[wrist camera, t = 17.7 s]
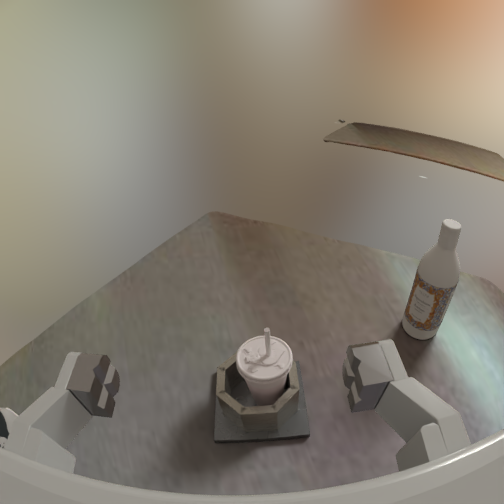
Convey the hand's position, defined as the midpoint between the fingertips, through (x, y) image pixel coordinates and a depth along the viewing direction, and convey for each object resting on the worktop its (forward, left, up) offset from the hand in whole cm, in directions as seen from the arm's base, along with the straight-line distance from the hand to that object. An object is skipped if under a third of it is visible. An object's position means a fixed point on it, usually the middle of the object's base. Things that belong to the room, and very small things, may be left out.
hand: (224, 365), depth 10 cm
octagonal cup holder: (0, +15, -31) cm, 34 cm away
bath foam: (+28, +25, -31) cm, 48 cm away
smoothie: (+1, +15, -30) cm, 33 cm away
